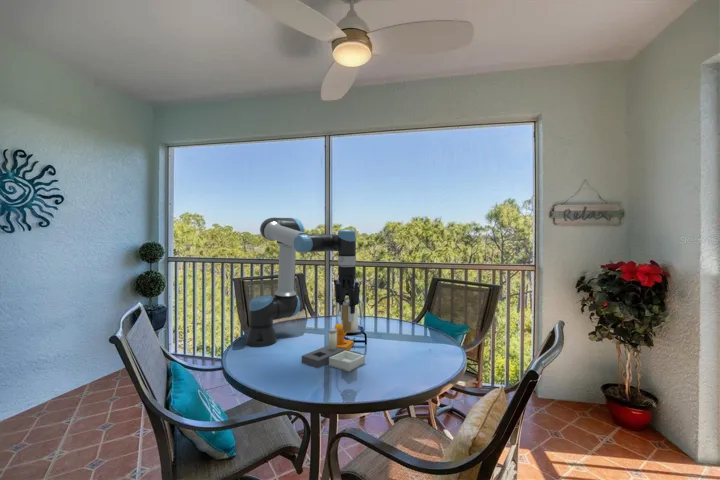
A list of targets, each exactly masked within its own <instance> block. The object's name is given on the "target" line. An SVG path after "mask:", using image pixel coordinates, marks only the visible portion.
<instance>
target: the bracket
mask: <svg viewBox="0 0 720 480" xmlns="http://www.w3.org/2000/svg"><path fill="white" fill-rule="evenodd" d="M334 328H335V329H337V347H339V348H343V349H345V351H349V352H350V350H351V349H352V348H353V346H354V340H350V339H345V336H346V335H347V333H348V331H344V330H343V323H336V324H335V325H334Z"/></svg>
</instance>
